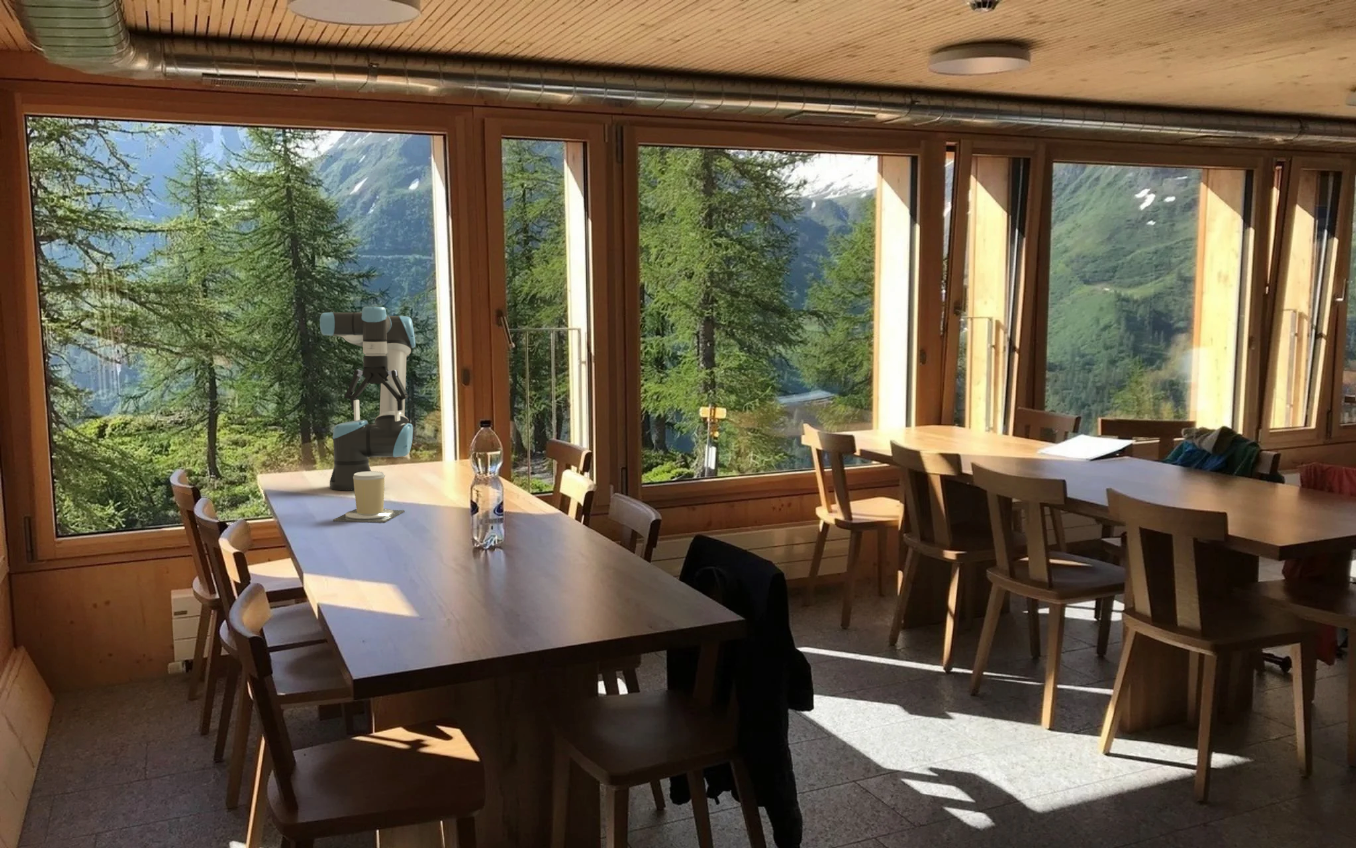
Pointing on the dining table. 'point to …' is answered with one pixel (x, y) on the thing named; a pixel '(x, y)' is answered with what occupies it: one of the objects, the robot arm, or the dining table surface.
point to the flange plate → (369, 516)
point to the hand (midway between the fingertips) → (377, 420)
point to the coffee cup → (369, 492)
